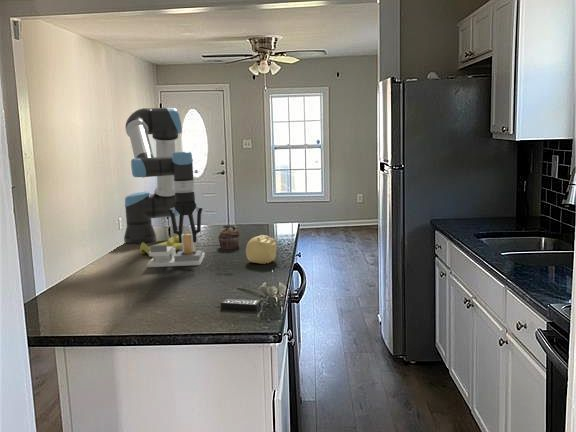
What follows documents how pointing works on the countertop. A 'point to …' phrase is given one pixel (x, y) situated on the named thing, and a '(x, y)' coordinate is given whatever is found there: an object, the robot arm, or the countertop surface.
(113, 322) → the countertop surface
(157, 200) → the robot arm
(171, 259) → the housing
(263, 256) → the sculpture
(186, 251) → the peg
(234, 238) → the cupcake
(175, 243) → the plastic component
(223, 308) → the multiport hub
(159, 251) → the lid
